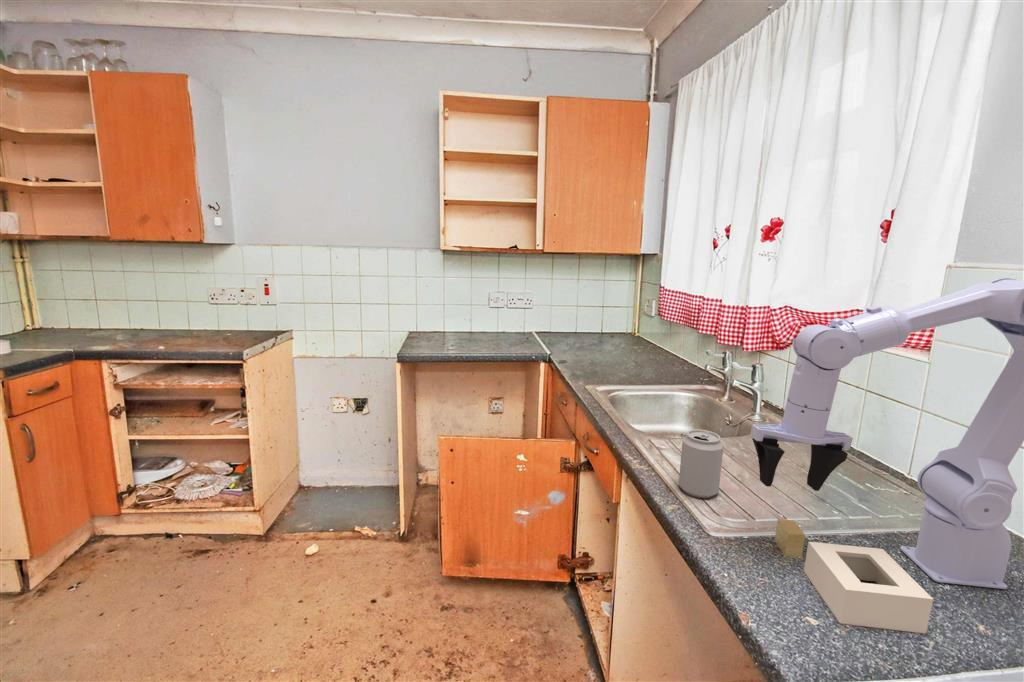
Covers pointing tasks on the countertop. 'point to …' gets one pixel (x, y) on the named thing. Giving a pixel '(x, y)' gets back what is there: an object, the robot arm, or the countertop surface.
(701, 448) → the can
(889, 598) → the box
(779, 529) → the block
